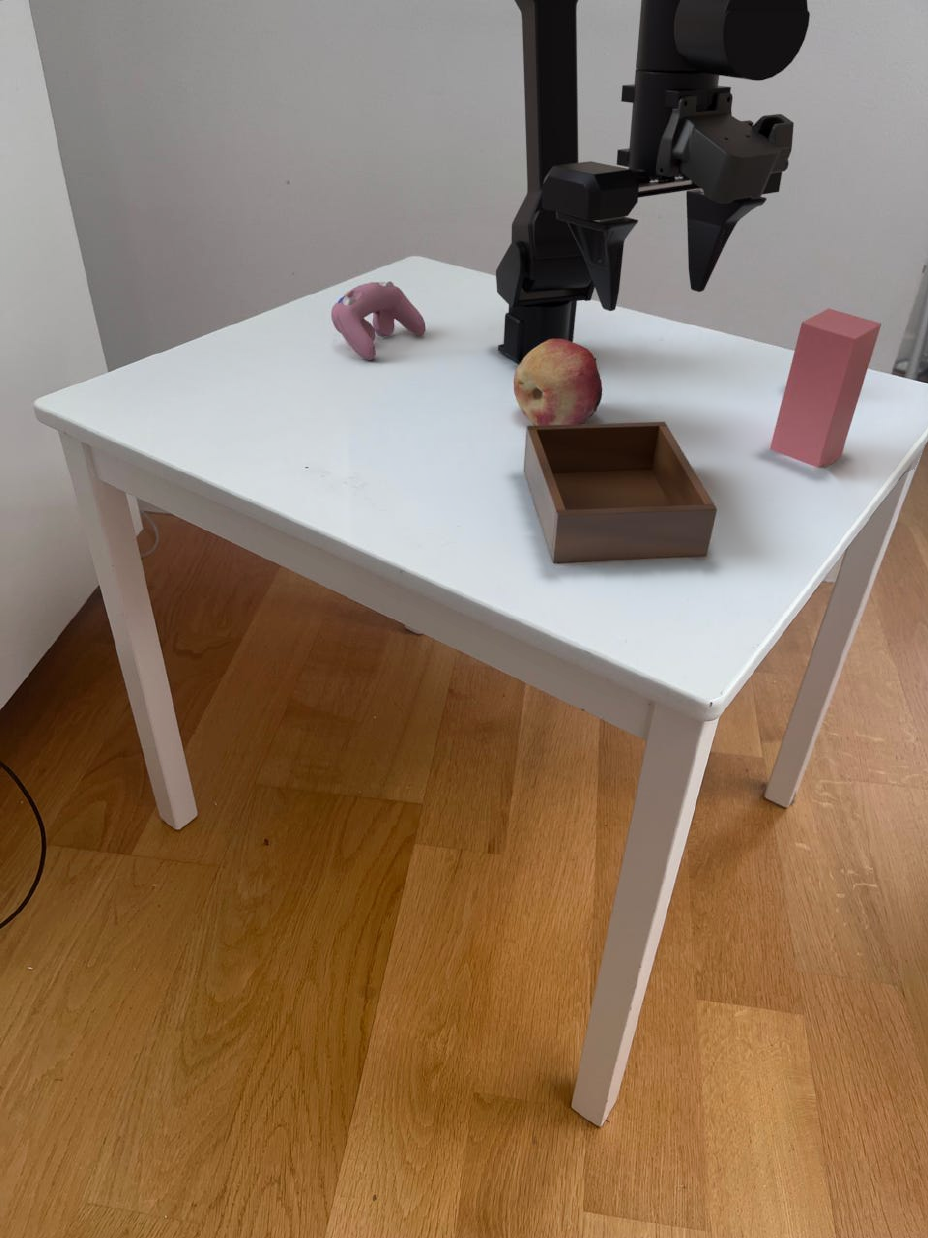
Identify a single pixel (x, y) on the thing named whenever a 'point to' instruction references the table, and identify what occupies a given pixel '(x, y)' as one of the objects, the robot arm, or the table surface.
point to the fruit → (558, 384)
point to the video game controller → (374, 315)
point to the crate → (616, 493)
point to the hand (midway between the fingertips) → (654, 299)
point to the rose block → (824, 386)
